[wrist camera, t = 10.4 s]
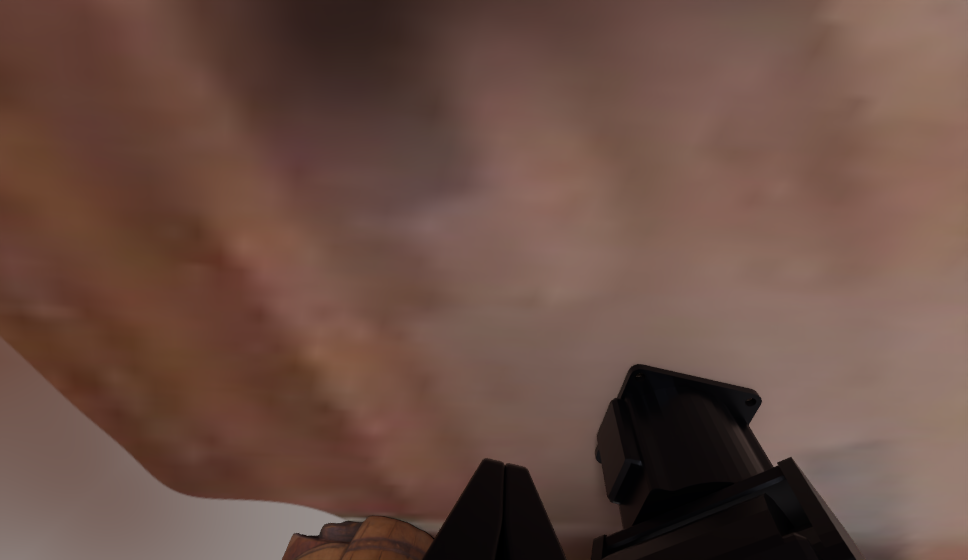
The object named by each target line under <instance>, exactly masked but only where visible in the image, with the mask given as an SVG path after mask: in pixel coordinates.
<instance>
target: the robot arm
mask: <svg viewBox="0 0 968 560" xmlns="http://www.w3.org/2000/svg"><path fill="white" fill-rule="evenodd" d="M639 373H643V375H642V376H640V377H636V374H639ZM749 398H752V399H751V400H749V401H746V400H747V399H749ZM761 403H762V400H761V397H760V396H759V394H758V393H757V392H756V391H755V390H753V389H749V388H744V387H740V386H736V385H731V384H727V383H722V382H718V381H713V380H709V379H704V378H700V377H696V376H691V375H687V374H682V373H678V372H673V371H669V370H664V369H660V368H655V367H651V366H647V365H642V364H637V365H634V366H632V367H631V368H630V369H629V371H628V373H627V375H626V378H625V380H624V383H623V385H622V387H621V390H620V392H619V395H618V397H617V398H615V399H613V400H612V401H611V402H610V405H609V407H608V409H607V412H606V414H605V417H604V419H603V422H602V424H601V426H600V429H599V431H598V434H597V439H598V445H597V447H596V449H595V456H596V459H597V461H598V462H599V463H601V464H602V468H603V474H604V480H605V486H606V492H607V497H608V498H609V500H610V502H612V503H616V504H619V509H620V514H621V519H622V524H623V530H621V531H619V532H616V533H614V534H611V535H609V536H607V535H602V536H600V537H598V538H595V539H594V540H593V548H592V555H591V560H866V559H865V557H864V556H863V554H862V553H861V551H860V550H859V549H858V547H857V546H856V544H855V543H854V541H853V540H852V538H851V537H850V536H849V534H848V533H847V531H846V530H845V528H844V527H843V526H842V524H841V523H840V522H839V520H838V519H837V518H836V516H835V515H834V514H833V512H832V511H831V510H830V508H829V507H828V505H827V504H826V503H825V501H824V500H823V499H822V497H821V496H820V495H819V493H818V492H817V491H816V489H815V488H814V487H813V485H812V484H811V483H810V481H809V480H808V479H807V477H806V476H805V475H804V473H803V472H802V471H801V469H800V468H799V467H798V465H797V464H796V463H795V461H794V460H793V459H792V457H790V458H787V459H785V460H782V461H780V462H778V466H776V467H773V465H772V464H771V462H770V460H769V459H768V457H767V455H766V454H765V452H764V450H763V449H762V447H761V445H760V444H759V442H758V440H757V439H756V437H755V435H754V434H753V432H752V430H751V429H750V427H749V423H750V422H751V420H752V418H753V417H754V415H755V413H756V412H757V410H758V408H759V407H760V405H761ZM422 560H567V559H566V557H565V554H564V552H563V550H562V548H561V545H560V543H559V541H558V538H557V536H556V534H555V531H554V529H553V527H552V524H551V522H550V520H549V517H548V515H547V513H546V510H545V508H544V506H543V503H542V501H541V499H540V497H539V494H538V492H537V490H536V487H535V485H534V483H533V480H532V478H531V476H530V473H529V471H528V469H527V468H526V467H523V466H519V465H515V464H510V463H508V464H506V465H504V463H503V462H501V461H497V460H492V459H488V458H485V459H483V460H482V462H481V463H480V465H479V467H478V468H477V470H476V471H475V473H474V475H473V476H472V478H471V480H470V481H469V483H468V485H467V486H466V488H465V489H464V491H463V493H462V494H461V496H460V498H459V499H458V501H457V503H456V504H455V506H454V507H453V509H452V511H451V512H450V514H449V516H448V517H447V519H446V521H445V522H444V524H443V525H442V527H441V529H440V530H439V532H438V534H437V535H436V537H435V538H434V540H433V542H432V543H431V545H430V547H429V548H428V550H427V552H426V553H425V555H424V556H423V558H422Z"/></svg>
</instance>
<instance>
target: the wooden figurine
mask: <svg viewBox="0 0 968 560" xmlns="http://www.w3.org/2000/svg"><path fill="white" fill-rule="evenodd" d="M433 540H434V539H433V538H432V537H431V536H430V535H429V534H427V533H426V532H424V531H422V530H419V529H417V528H415V527H414V526H412V525H411V524H409V523H406V522H403V521H400V520H396V519H390V518H387V517H383V516H369V517H368V518H367V519H366V520H365V521H364V522H363V523H356V522H351V521H345V522H343V523H328V524H325V525H324V526H323V527H322V529H321V532H320V535H318V536H306V535H303V534H302V535H301V534H299V533H295V534H293V536H292V538H291V540H290V542H289V544H288V547H287V549H286V551H285V554H284V556H283V558H282V560H422V558H423V556H424V555H425V553H426V552H427V550H428V548H429V547H430V545H431V543H432V542H433Z"/></svg>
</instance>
